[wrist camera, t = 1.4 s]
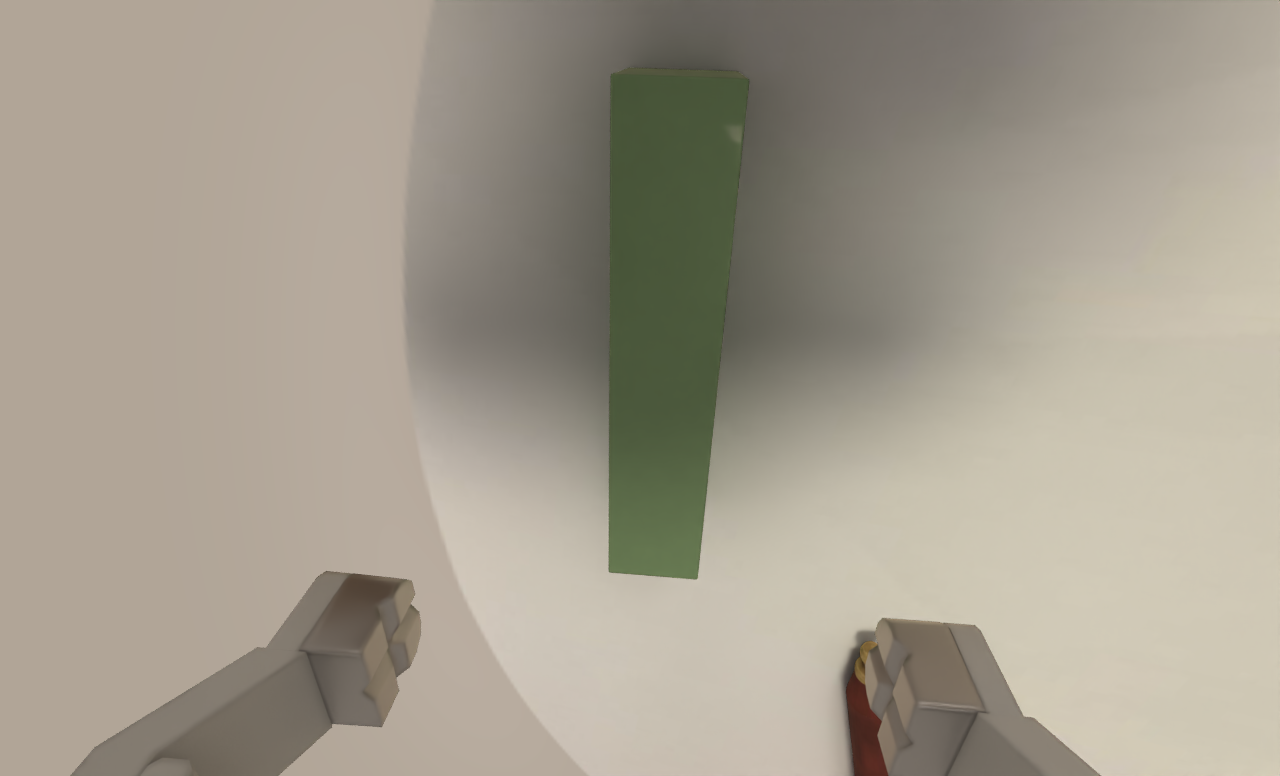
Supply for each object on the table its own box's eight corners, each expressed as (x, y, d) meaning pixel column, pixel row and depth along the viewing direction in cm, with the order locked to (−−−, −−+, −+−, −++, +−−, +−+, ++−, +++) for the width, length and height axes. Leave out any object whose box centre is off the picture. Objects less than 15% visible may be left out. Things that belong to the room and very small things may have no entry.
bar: (627, 67, 18) (610, 73, 14) (739, 71, 17) (749, 78, 14) (620, 500, 26) (608, 572, 22) (697, 506, 25) (697, 580, 22)
